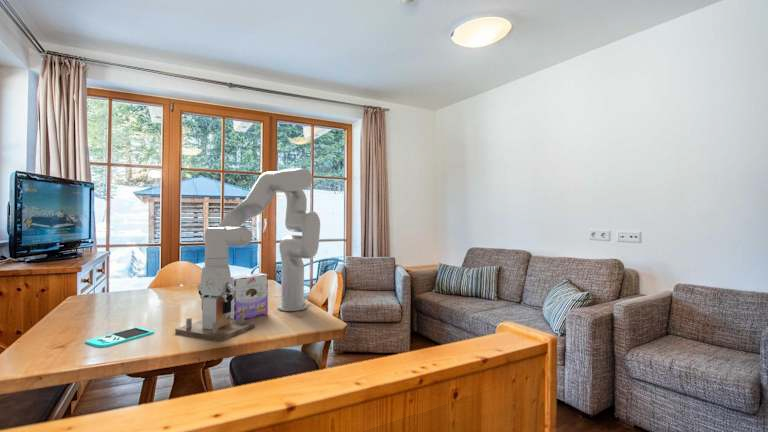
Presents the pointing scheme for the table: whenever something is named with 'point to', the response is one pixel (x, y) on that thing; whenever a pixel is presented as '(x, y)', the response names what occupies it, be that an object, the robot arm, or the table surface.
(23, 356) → the table surface
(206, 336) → the peg board
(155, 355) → the table surface
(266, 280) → the candy box
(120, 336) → the handheld game console
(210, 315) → the small box
